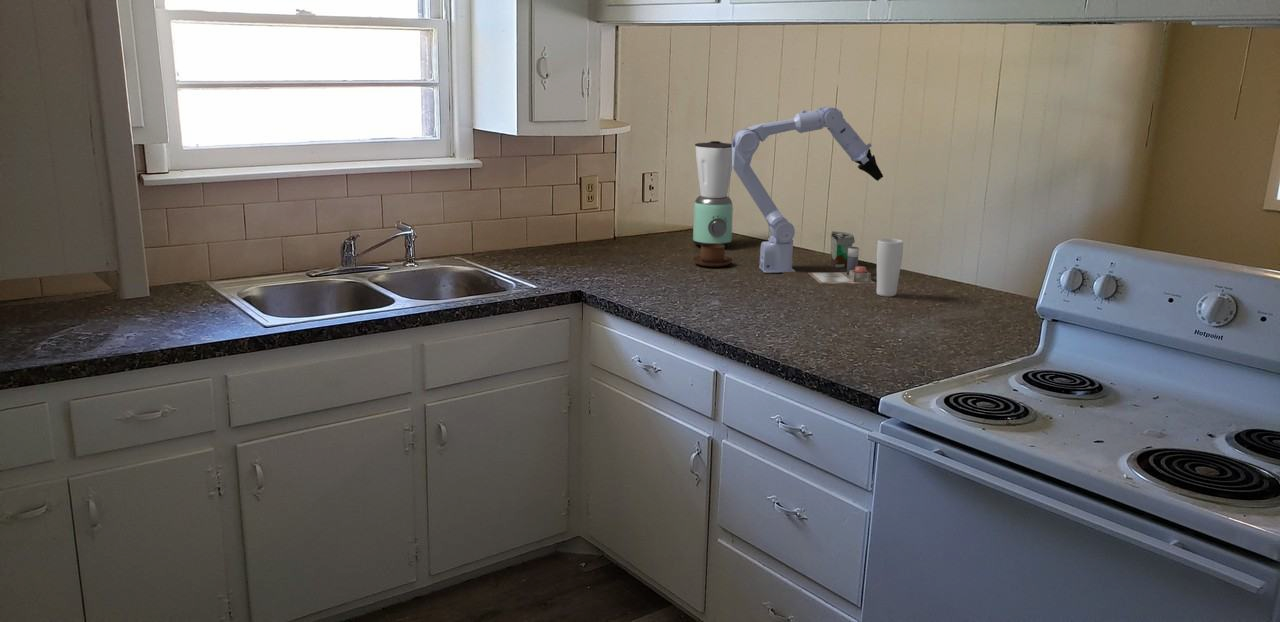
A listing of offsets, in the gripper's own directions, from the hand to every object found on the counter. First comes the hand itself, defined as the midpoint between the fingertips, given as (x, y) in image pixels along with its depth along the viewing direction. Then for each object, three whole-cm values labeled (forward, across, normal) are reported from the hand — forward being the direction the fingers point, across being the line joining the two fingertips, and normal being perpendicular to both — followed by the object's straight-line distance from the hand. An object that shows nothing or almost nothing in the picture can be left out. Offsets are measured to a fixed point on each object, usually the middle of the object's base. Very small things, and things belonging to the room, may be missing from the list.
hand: (878, 175), depth 290 cm
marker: (+15, -12, +23) cm, 30 cm away
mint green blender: (-8, +30, +58) cm, 66 cm away
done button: (+14, -19, +21) cm, 31 cm away
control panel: (+13, -16, +26) cm, 33 cm away
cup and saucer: (-11, -1, +55) cm, 56 cm away
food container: (+16, +2, +26) cm, 31 cm away
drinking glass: (+18, -34, +17) cm, 42 cm away
